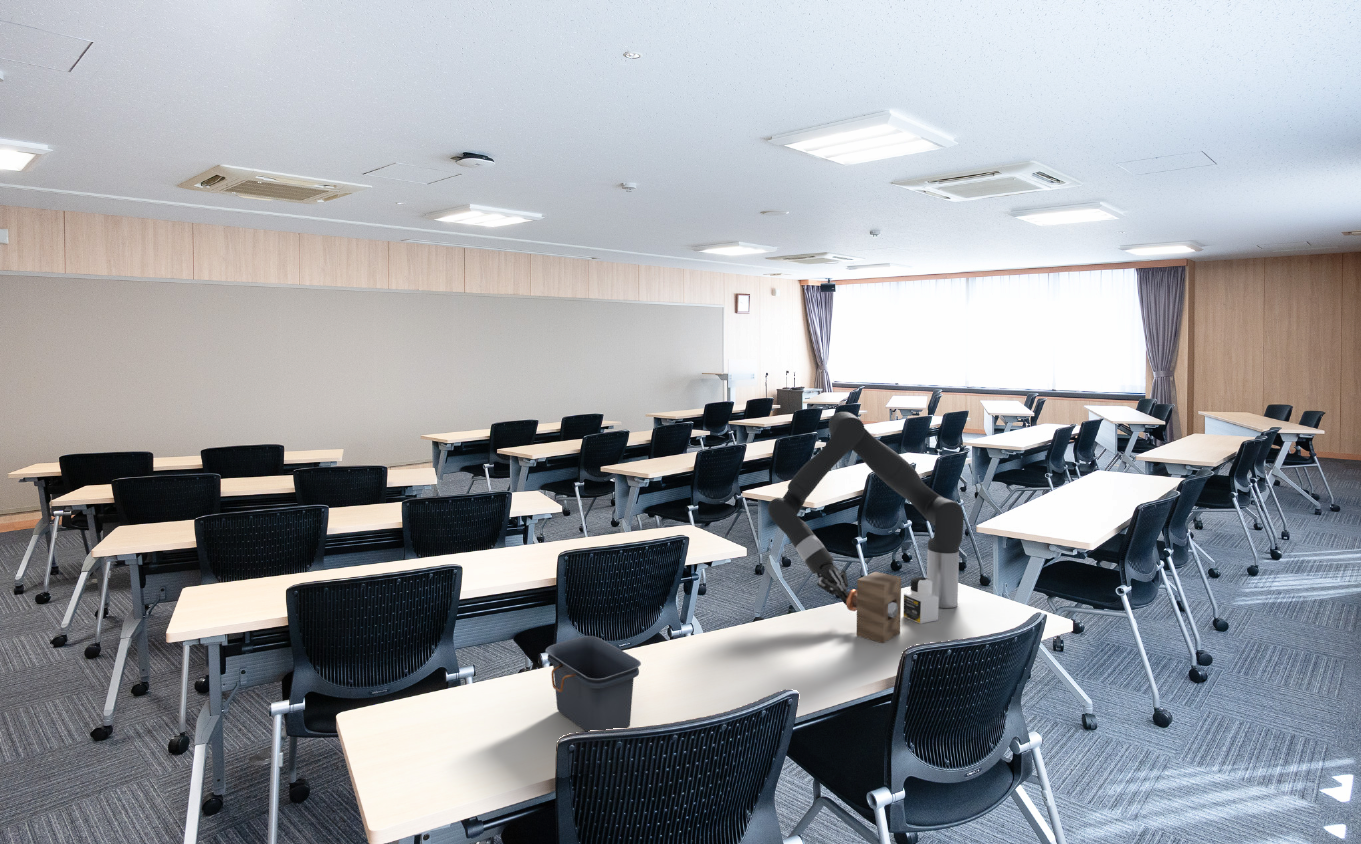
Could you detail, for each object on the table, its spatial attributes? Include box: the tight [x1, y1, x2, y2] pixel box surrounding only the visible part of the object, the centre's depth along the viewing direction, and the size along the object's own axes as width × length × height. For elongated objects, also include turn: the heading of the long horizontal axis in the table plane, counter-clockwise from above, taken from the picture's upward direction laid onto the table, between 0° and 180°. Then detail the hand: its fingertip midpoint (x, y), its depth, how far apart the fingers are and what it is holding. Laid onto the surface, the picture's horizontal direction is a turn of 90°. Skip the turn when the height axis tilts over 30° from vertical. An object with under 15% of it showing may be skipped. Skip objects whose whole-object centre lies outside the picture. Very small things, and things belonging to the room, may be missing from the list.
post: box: [855, 571, 902, 644], centre depth 207 cm, size 10×8×16 cm
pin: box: [845, 588, 898, 618], centre depth 209 cm, size 6×13×6 cm, turn 47°
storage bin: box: [545, 635, 642, 732], centre depth 158 cm, size 21×16×14 cm
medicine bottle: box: [902, 576, 939, 625], centre depth 220 cm, size 7×7×12 cm
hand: (850, 603), depth 214 cm, fingers closed
